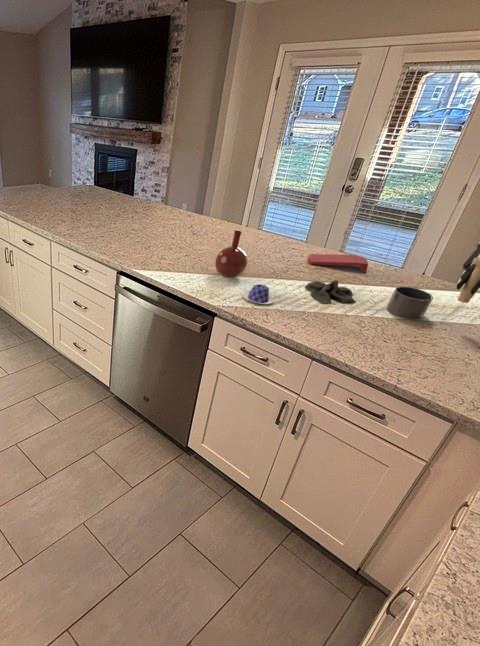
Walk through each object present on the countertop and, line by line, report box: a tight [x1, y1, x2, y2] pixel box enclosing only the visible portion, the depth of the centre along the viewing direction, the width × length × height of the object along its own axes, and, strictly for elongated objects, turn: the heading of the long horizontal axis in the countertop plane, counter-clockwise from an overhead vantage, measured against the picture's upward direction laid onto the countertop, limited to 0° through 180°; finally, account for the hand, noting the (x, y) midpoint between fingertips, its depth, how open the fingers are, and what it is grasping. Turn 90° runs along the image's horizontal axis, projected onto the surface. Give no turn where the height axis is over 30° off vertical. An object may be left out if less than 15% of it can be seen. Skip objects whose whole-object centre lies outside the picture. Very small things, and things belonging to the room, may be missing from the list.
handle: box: [457, 257, 480, 304], centre depth 142 cm, size 5×6×15 cm
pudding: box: [242, 283, 275, 305], centre depth 163 cm, size 12×12×5 cm
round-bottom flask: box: [214, 230, 248, 279], centre depth 177 cm, size 13×13×20 cm
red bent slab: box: [307, 253, 369, 273], centre depth 200 cm, size 12×5×25 cm
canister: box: [385, 286, 434, 321], centre depth 157 cm, size 12×12×8 cm
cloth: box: [304, 279, 356, 305], centre depth 169 cm, size 22×19×6 cm
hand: (465, 289), depth 141 cm, fingers closed on handle, 4 cm apart
